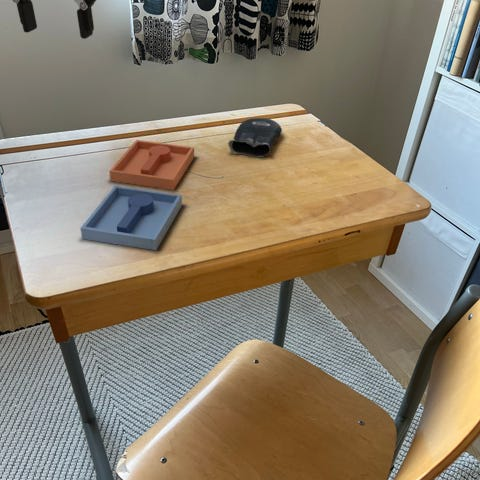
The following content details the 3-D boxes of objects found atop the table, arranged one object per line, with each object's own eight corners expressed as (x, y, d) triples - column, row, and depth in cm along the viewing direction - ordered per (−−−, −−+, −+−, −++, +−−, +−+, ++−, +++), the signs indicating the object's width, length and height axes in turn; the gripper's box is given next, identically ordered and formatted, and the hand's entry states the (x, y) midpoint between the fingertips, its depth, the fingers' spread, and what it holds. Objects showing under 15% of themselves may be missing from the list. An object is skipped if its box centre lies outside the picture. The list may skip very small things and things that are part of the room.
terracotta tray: (110, 180, 95) (109, 170, 94) (137, 149, 105) (136, 139, 104) (173, 189, 94) (173, 179, 92) (194, 156, 104) (194, 147, 103)
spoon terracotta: (156, 180, 95) (155, 171, 94) (134, 177, 95) (133, 168, 94) (173, 155, 103) (172, 146, 102) (153, 152, 103) (152, 144, 102)
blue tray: (82, 238, 81) (80, 228, 80) (116, 195, 91) (114, 185, 90) (156, 250, 79) (155, 239, 78) (182, 205, 90) (181, 194, 88)
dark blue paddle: (135, 238, 81) (134, 229, 79) (110, 234, 81) (108, 225, 80) (157, 204, 89) (156, 195, 87) (134, 201, 89) (132, 192, 88)
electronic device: (273, 165, 106) (284, 127, 115) (271, 140, 101) (283, 103, 111) (229, 164, 108) (244, 127, 117) (226, 140, 104) (241, 104, 113)
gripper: (-39, -108, 69) (-4, 34, 81) (81, -99, 67) (100, 45, 79) (-9, -110, 75) (20, 22, 86) (104, -102, 72) (118, 33, 84)
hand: (58, 33), depth 82 cm, fingers open, 9 cm apart
